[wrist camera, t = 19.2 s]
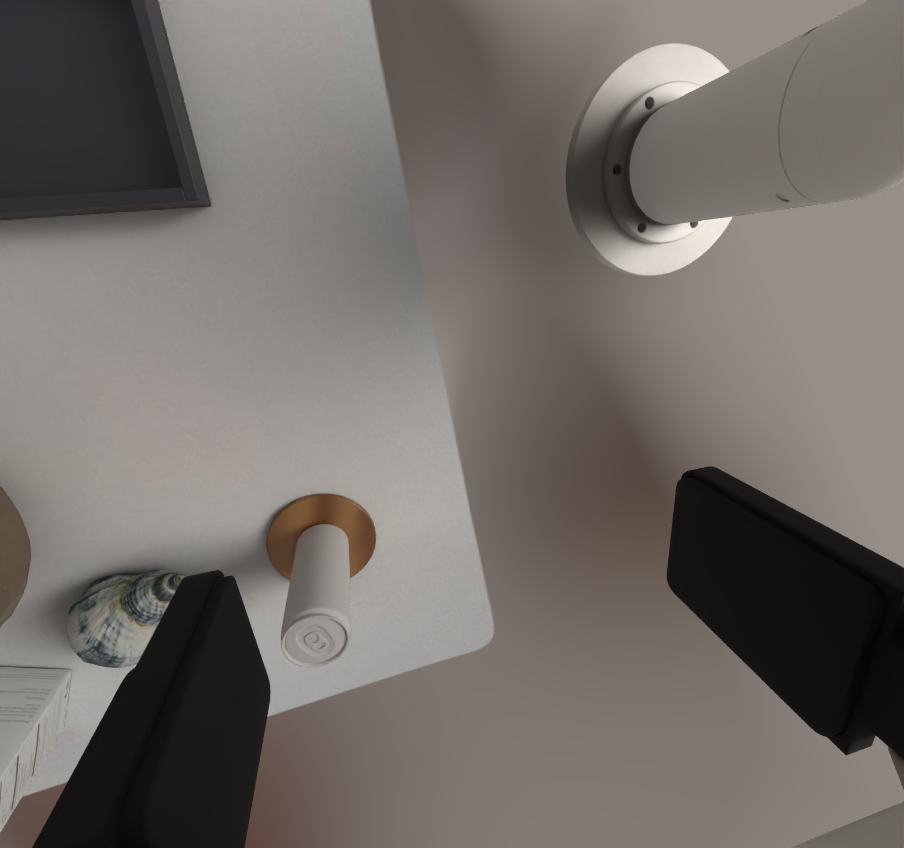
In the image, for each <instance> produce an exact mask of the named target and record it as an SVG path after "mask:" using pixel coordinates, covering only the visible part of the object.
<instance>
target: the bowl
mask: <svg viewBox="0 0 904 848" xmlns="http://www.w3.org/2000/svg"><path fill="white" fill-rule="evenodd" d="M30 560H31V551H30V541H29V537H28V534H27V530H26V527H25V525H24V523H23V521H22V518H21V516H20V514H19V512H18V511H17V509H16V507H15V505H14V504H13V502H12V501H11V499H10V498H9V496H8V495H7V494H6V492H5V491H4V490H3V489H2V487H1V486H0V627H1V626H2V624H3V623H4V622H5V621H6V620H7V619H8V618H9V617H10V616H12V614H13V611H14V609H15V608H16V606H17V604H18V602H19V601H20V599H21V597H22V595H23V593H24V589H25V587H26V584H27V579H28V572H29V566H30Z"/></svg>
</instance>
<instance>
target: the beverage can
mask: <svg viewBox="0 0 904 848" xmlns="http://www.w3.org/2000/svg"><path fill="white" fill-rule="evenodd" d="M350 633H351V593H350V567H349V542H348V538H347V535H346V533H345V532H344V531H343V530H342V529H340V528H339V527H337V526H334V525H330V524H320V525H315V526H312V527H310V528H308V529H307V530H306V531H304V532H303V533H302V534H301V536H300V537H299V539H298V541H297V545H296V550H295V556H294V562H293V568H292V573H291V579H290V585H289V590H288V596H287V602H286V607H285V613H284V619H283V624H282V630H281V641H282V645H281V648H282V651H283V654H284V655H285V656H286V658H287V659H288V660H289V661H291V662H292V663H294V664H296V665H299V666H302V667H319V666H323V665H327V664H329V663H331V662H333V661H335V660H336V659H337V658H339V657H340V656H341V655H342V654H343V653H344V651H345V650H346V648H347V646H348V643H349V638H350Z"/></svg>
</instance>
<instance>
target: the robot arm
mask: <svg viewBox="0 0 904 848" xmlns="http://www.w3.org/2000/svg"><path fill="white" fill-rule="evenodd" d="M603 182H604V192H605V196H606V200H607V204H608V207H609V209H610V211H611V214H612V216H613V218H614V219H615V221H616V222H617V223H618V225H619V226H620V228H622V229H623V230H624V231H625V232H626V233H627V234H628V235H629V236H631V237H633V238H635V239H637V240H638V241H642V242H646V243H649V244H662V243H670V242H674V241H677V240H680V239H683V238H685V237H687V236H688V235H690V234H692V233H694V232H695V231H696V230H697V229H698V228H700V227H701V226H702V225H703V224H704V223H705V222H706V221H707V220H709V219H717V218H724V217H731V216H738V215H746V214H753V213H760V212H768V211H775V210H782V209H790V208H797V207H804V206H811V205H818V204H826V203H832V202H839V201H846V200H853V199H858V198H863V197H867V196H870V195H873V194H876V193H879V192H882V191H885V190H887V189H889V188H891V187H893V186H896V185H898V184H900V183H902V182H904V0H868V1H866V2H865V3H863V4H860V5H859V6H856V7H855V8H853V9H851V10H849V11H847V12H845V13H843V14H841V15H839V16H838V17H836V18H834V19H832V20H830V21H828V22H826V23H824V24H822V25H820V26H818V27H816V28H814V29H812V30H810V31H808V32H806V33H804V34H802V35H800V36H798V37H796V38H794V39H793V40H791V41H789V42H787V43H785V44H783V45H781V46H779V47H777V48H775V49H773V50H771V51H769V52H768V53H765V54H764V55H762V56H760V57H758V58H756V59H754V60H752V61H750V62H748V63H746V64H744V65H742V66H740V67H738V68H736V69H735V70H733V71H731V72H729V73H727V74H725V75H723V76H721V77H719V78H717V79H715V80H713V81H711V82H709V83H707V84H705V85H703V86H700V85H698V84H695V83H693V82H687V81H673V82H667V83H664V84H662V85H659V86H657V87H654V88H653V89H651V90H649V91H648V92H646V93H644V94H643V95H641V96H640V97H639V98H638V99H637V100H635V101H634V102H633V103H632V104H631V105H630V106H629V107H628V109H627V110H626V111H625V112H624V113H623V115H622V116H621V118H620V119H619V121H618V123H617V125H616V126H615V128H614V130H613V132H612V135H611V137H610V140H609V143H608V145H607V150H606V154H605V159H604V169H603ZM637 228H638V229H637ZM667 581H668V584H669V586H670V588H671V590H672V591H673V592H674V594H675V595H676V596H677V597H678V598H680V599H681V600H682V601H683V602H684V603H685V604H686V605H687V606H688V607H689V608H690V609H691V610H692V611H693V612H694V613H695V614H696V615H697V616H698V617H699V618H700V619H701V620H702V621H703V622H704V623H705V624H706V625H707V626H708V627H709V628H710V629H711V630H712V631H713V632H714V633H715V634H716V635H717V636H718V637H719V638H720V639H721V640H722V641H723V642H724V643H725V644H726V645H727V646H728V647H729V648H730V649H731V650H733V652H734V653H735V654H736V655H737V656H738V657H740V659H742V661H744V662H745V663H746V664H747V665H748V666H749V667H750V668H751V669H752V670H753V671H754V672H755V673H756V674H757V675H758V676H759V677H760V678H761V679H762V680H763V681H764V682H765V683H766V684H767V685H768V686H769V687H770V688H771V689H772V690H773V691H774V692H775V693H776V694H777V695H778V696H779V697H780V698H781V699H782V700H783V701H784V702H785V703H786V704H787V705H788V706H789V707H790V708H791V709H792V710H793V711H794V712H795V713H796V714H797V715H798V716H799V717H801V719H802V720H803V721H805V723H807V725H809V726H810V727H811V728H812V729H813V730H814V731H815V732H817V733H818V734H820V735H822V736H826V737H828V738H829V739H830V740H831V741H832V742H833V743H834V744H835V745H836V746H837V747H838V748H839V749H840V750H841V751H842V752H843V753H844V754H845V755H848V754H851V753H854V752H857V751H859V750H861V749H864V748H867V747H870V746H871V745H872V743H873V741H874V738H875V736H877V737H878V738H880V739H881V740H882V741H883V742H884V743H885V744H886V745H887V746H888V750H889V753H890V755H891V758H892V760H893V763H894V766H895V768H896V771H897V773H898V776H899V778H900V781H901V783H902V786H903V789H904V568H903V567H901V566H899V565H898V564H896V563H894V562H892V561H890V560H888V559H886V558H884V557H883V556H881V555H879V554H876V553H875V552H873V551H871V550H869V549H867V548H865V547H864V546H862V545H860V544H858V543H856V542H854V541H853V540H851V539H849V538H847V537H845V536H843V535H841V534H839V533H837V532H836V531H834V530H832V529H830V528H828V527H826V526H824V525H823V524H821V523H819V522H817V521H815V520H813V519H811V518H810V517H808V516H806V515H804V514H802V513H800V512H798V511H796V510H794V509H793V508H791V507H789V506H787V505H785V504H783V503H781V502H779V501H778V500H776V499H774V498H772V497H770V496H768V495H766V494H765V493H763V492H761V491H759V490H757V489H755V488H753V487H752V486H750V485H748V484H746V483H744V482H742V481H740V480H738V479H736V478H735V477H733V476H731V475H729V474H727V473H725V472H723V471H721V470H720V469H718V468H715V467H704V468H700V469H695V470H690V471H687V472H685V473H684V474H683V475H682V478H681V480H679V481H678V483H677V486H676V494H675V503H674V513H673V522H672V532H671V540H670V549H669V558H668V568H667ZM269 703H270V682H269V678H268V675H267V672H266V669H265V666H264V663H263V660H262V657H261V654H260V651H259V648H258V645H257V642H256V639H255V636H254V633H253V630H252V628H251V625H250V622H249V619H248V616H247V613H246V610H245V607H244V604H243V601H242V598H241V595H240V592H239V589H238V586H237V583H236V580H235V578H234V577H233V576H226V577H225V576H224V574H223V573H222V572H221V571H219V570H216V571H211V572H206V573H201V574H197V575H192V576H187V577H185V578H183V579H182V581H181V582H180V584H179V586H178V587H177V589H176V591H175V593H174V595H173V597H172V599H171V601H170V603H169V605H168V606H167V608H166V610H165V612H164V614H163V616H162V618H161V620H160V622H159V624H158V625H157V627H156V629H155V631H154V633H153V635H152V637H151V639H150V641H149V643H148V644H147V646H146V648H145V650H144V652H143V654H142V656H141V658H140V660H139V662H138V663H137V665H136V667H135V668H134V669H133V670H131V671H130V672H129V673H128V674H127V675H126V677H125V678H124V680H123V681H122V683H121V685H120V686H119V688H118V690H117V692H116V694H115V696H114V697H113V699H112V701H111V703H110V705H109V707H108V709H107V710H106V712H105V714H104V716H103V718H102V720H101V722H100V723H99V725H98V727H97V729H96V731H95V733H94V734H93V736H92V738H91V740H90V742H89V744H88V746H87V747H86V749H85V751H84V753H83V755H82V757H81V759H80V760H79V762H78V764H77V766H76V768H75V770H74V771H73V773H72V775H71V777H70V779H69V781H68V783H67V784H66V786H65V788H64V790H63V792H62V794H61V796H60V797H59V799H58V801H57V803H56V805H55V807H54V808H53V811H52V812H51V814H50V816H49V818H48V820H47V822H46V824H45V825H44V827H43V829H42V831H41V833H40V835H39V836H38V838H37V840H36V842H35V844H34V846H33V847H32V848H244V847H245V841H246V835H247V830H248V824H249V818H250V813H251V806H252V801H253V795H254V790H255V784H256V778H257V772H258V766H259V761H260V755H261V749H262V743H263V737H264V732H265V726H266V720H267V715H268V709H269ZM792 848H904V802H902V803H899V804H897V805H894V806H892V807H890V808H887V809H885V810H883V811H880V812H877V813H875V814H872V815H870V816H867V817H865V818H863V819H860V820H858V821H855V822H853V823H850V824H848V825H845V826H843V827H840V828H838V829H836V830H833V831H831V832H828V833H826V834H823V835H821V836H819V837H816V838H814V839H811V840H809V841H806V842H804V843H802V844H799V845H797V846H794V847H792Z"/></svg>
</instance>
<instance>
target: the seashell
mask: <svg viewBox="0 0 904 848" xmlns="http://www.w3.org/2000/svg"><path fill="white" fill-rule="evenodd" d="M185 577H186V576H185V575H181V574H179V573H175V572H172V571H169V570H152V571H149V572H146V573H143V574H140V575H135V574H120V575H112V576H108V577H105V578H102V579H100V580H97V581H95V582H94V583H92V584H91V585H90V586H89V587H88V588H87V589H86V590H85V591H84V593H83V594H82V596H81V597H80V598H79V599H78V600H77V601H76V602H75V603H74V604H73V606H72V607H71V608H70V610H69V616H68V621H67V634H68V639H69V642H70V645H71V647H72V649H73V650H74V651H75V652H76V653H77V655H78V656H79V657H80V658H81V659H82V660H83V661H84V662H87V663H90V664H95V665H99V666H104V667H112V668H120V667H126V666H131V665H135V664H137V663H138V662H139V660H140V658H141V656H142V654H143V652H144V650H145V648H146V646H147V644H148V643H149V641H150V639H151V637H152V635H153V633H154V631H155V629H156V627H157V625H158V624H159V622H160V620H161V618H162V616H163V614H164V612H165V610H166V608H167V606H168V605H169V603H170V601H171V599H172V597H173V595H174V593H175V591H176V589H177V587H178V586H179V584H180V582H181V581H182V579H183V578H185Z"/></svg>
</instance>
